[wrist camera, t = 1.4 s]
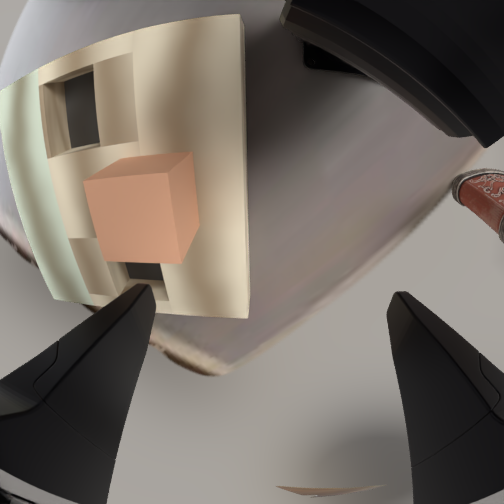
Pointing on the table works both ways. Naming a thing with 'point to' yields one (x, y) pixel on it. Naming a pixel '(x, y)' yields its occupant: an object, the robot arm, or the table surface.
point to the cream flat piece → (132, 145)
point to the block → (145, 208)
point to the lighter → (483, 196)
